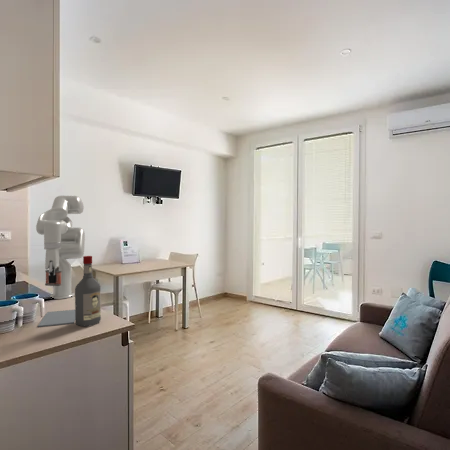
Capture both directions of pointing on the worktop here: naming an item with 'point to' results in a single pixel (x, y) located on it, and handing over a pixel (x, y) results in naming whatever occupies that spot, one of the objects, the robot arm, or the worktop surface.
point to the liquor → (87, 297)
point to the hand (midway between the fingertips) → (53, 281)
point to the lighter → (58, 277)
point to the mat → (58, 318)
